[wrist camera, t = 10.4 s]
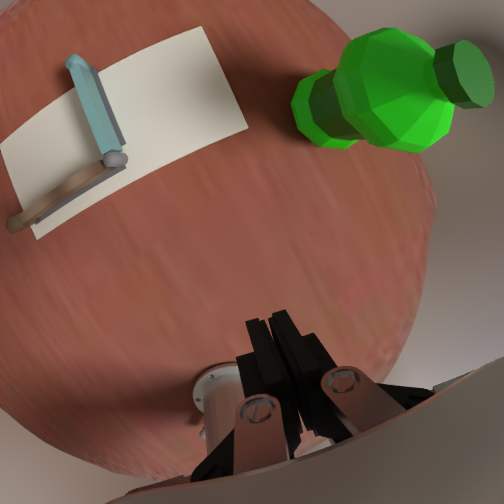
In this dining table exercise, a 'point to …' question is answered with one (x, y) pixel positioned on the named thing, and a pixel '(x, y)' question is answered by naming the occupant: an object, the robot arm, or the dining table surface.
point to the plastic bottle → (391, 92)
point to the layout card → (125, 124)
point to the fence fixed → (57, 196)
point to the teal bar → (96, 112)
